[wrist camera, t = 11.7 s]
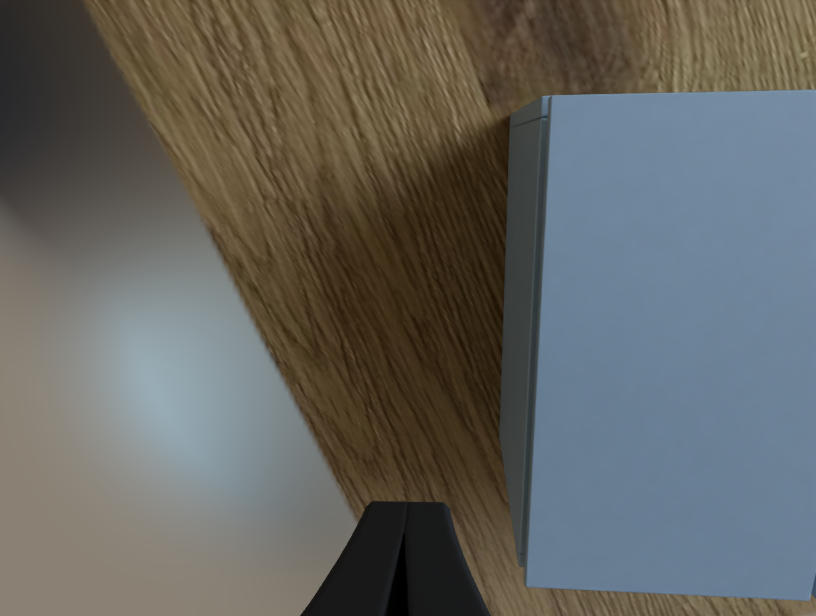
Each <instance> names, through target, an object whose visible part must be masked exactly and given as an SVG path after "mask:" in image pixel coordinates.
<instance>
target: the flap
mask: <svg viewBox="0 0 816 616" xmlns="http://www.w3.org/2000/svg"><path fill="white" fill-rule="evenodd" d="M811 594H812V595H813V596H814V597H815V599H816V573H815V578H814V582H813V587H812V591H811Z"/></svg>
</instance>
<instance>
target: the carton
mask: <svg viewBox="0 0 816 616" xmlns="http://www.w3.org/2000/svg"><path fill="white" fill-rule="evenodd" d="M499 438H500V445H501V452H502V458H503V465H504V472H505V478H506V485H507V492H508V498H509V505H510V512H511V518H512V525H513V532H514V538H515V545H516V552H517V558H518V565H519V566H520V567H524V582H525V586H526V587H535V588H555V589H576V590H597V591H617V592H638V593H658V594H679V595H700V596H720V597H741V598H761V599H782V600H803V601H809V600H810V596H811V591H812V587H813V582H814V578H815V573H816V90H776V91H730V92H684V93H639V94H593V95H552V96H542V97H540V98H538V99H537V100H535V101H533V102H531V103H530V104H528V105H526V106H525V107H523V108H521V109H519V110H518V111H516V112H514V113H512V114H511V115H510V135H509V165H508V195H507V224H506V254H505V284H504V313H503V343H502V372H501V402H500V432H499Z"/></svg>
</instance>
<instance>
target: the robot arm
mask: <svg viewBox="0 0 816 616" xmlns="http://www.w3.org/2000/svg"><path fill="white" fill-rule="evenodd" d="M300 616H491V615H490V613H489V611H488V609H487V607H486V605H485V603H484V601H483V598H482V596H481V594H480V592H479V590H478V588H477V585H476V583H475V581H474V579H473V577H472V575H471V572H470V570H469V567H468V565H467V563H466V560H465V557H464V555H463V552H462V550H461V547H460V544H459V541H458V538H457V535H456V532H455V529H454V525H453V521H452V517H451V511H450V508H449V507H448V506H447V505H446V504H445V503H444V502H387V501H372V502H371V503H370V504H369V505H368V506H366V508H365V510H364V512H363V515H362V517H361V519H360V521H359V523H358V525H357V527H356V529H355V531H354V532H353V534H352V536H351V538H350V540H349V541H348V543H347V545H346V547H345V548H344V550H343V552H342V554H341V555H340V557H339V559H338V560H337V562H336V564H335V565H334V566H333V568H332V569H331V571H330V573H329V574H328V576H327V577H326V579H325V581H324V582H323V583H322V585H321V587H320V588H319V590H318V591H317V593H316V594H315V596H314V597H313V599H312V600H311V602H310V603H309V605H308V606H307V607H306V608H305V610H304V611H303V613H302V614H301V615H300Z"/></svg>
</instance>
